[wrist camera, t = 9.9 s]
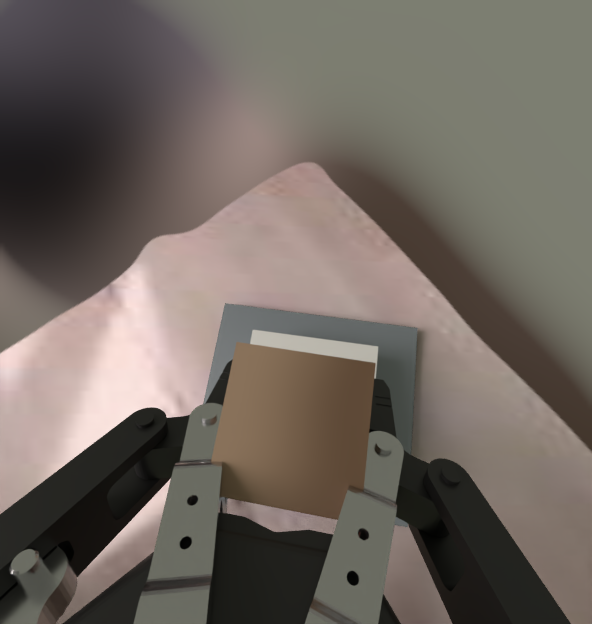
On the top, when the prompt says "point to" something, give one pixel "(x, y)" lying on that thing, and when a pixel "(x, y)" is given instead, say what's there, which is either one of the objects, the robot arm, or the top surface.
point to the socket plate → (331, 330)
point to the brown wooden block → (294, 429)
